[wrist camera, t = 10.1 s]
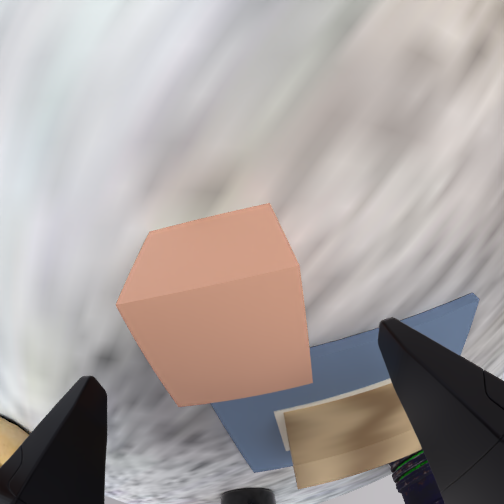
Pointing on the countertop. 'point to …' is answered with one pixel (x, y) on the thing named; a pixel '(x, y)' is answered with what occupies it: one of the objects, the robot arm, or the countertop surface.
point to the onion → (10, 439)
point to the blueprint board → (332, 383)
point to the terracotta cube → (219, 308)
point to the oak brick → (348, 436)
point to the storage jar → (416, 480)
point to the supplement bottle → (248, 496)
